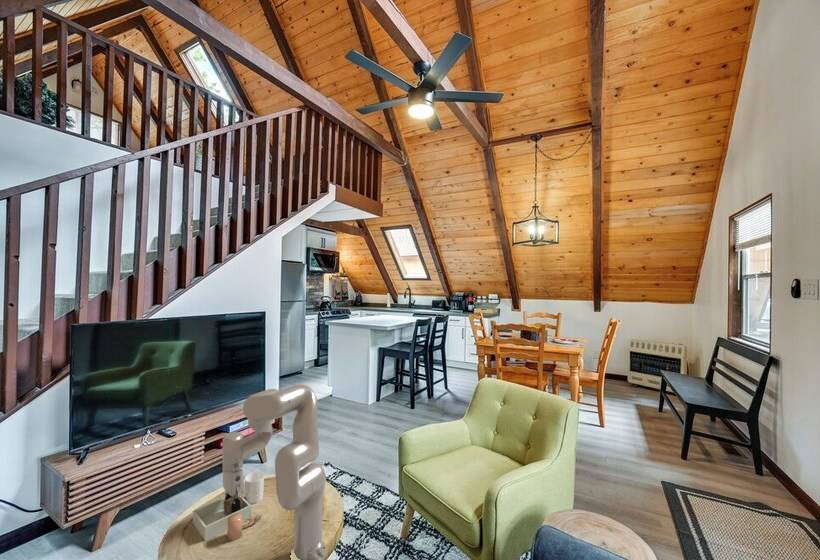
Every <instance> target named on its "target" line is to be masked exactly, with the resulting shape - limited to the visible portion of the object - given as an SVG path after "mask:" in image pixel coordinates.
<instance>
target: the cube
mask: <svg viewBox="0 0 820 560" xmlns="http://www.w3.org/2000/svg"><path fill="white" fill-rule="evenodd" d="M236 498H237V496H235V499H236ZM232 503H233V502H232V498H230V499H227V500H225V501H224V514H225V515H226V516H228V515H230V514H232ZM241 509H242V501H240V510H241Z"/></svg>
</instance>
